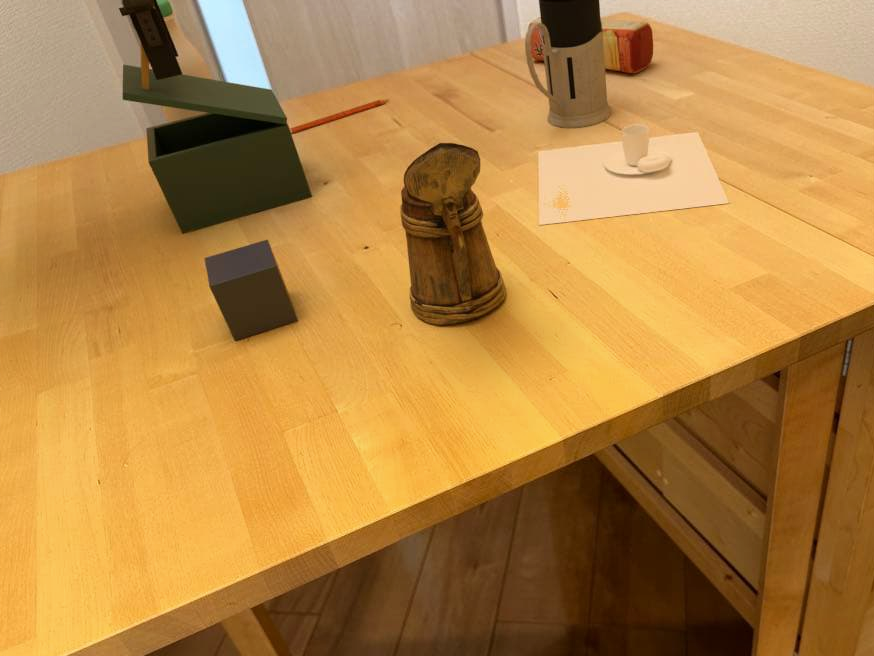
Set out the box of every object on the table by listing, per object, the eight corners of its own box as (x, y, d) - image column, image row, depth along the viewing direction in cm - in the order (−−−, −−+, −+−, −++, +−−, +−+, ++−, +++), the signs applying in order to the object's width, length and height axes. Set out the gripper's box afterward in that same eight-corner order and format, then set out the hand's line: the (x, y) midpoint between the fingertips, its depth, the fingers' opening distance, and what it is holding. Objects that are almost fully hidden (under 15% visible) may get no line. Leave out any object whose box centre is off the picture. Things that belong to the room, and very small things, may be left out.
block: (234, 341, 71) (209, 286, 67) (228, 311, 75) (204, 257, 71) (298, 320, 72) (276, 265, 68) (288, 292, 77) (267, 239, 73)
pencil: (281, 135, 113) (279, 131, 112) (390, 100, 119) (389, 96, 118) (283, 137, 112) (281, 132, 112) (392, 101, 118) (391, 97, 118)
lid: (122, 100, 81) (120, 10, 76) (123, 71, 90) (121, -10, 86) (286, 124, 88) (293, 44, 84) (271, 95, 98) (276, 22, 93)
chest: (182, 233, 91) (148, 161, 85) (176, 195, 100) (146, 128, 94) (312, 196, 94) (288, 125, 89) (295, 162, 104) (272, 96, 98)
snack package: (526, 63, 125) (520, 18, 120) (552, 51, 128) (548, 7, 124) (631, 79, 113) (629, 30, 108) (657, 64, 116) (656, 16, 112)
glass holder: (623, 106, 105) (616, -15, 95) (567, 147, 96) (554, 18, 87) (569, 100, 109) (558, -16, 99) (511, 139, 101) (493, 16, 91)
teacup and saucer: (677, 176, 86) (676, 141, 83) (606, 185, 86) (604, 150, 84) (666, 146, 93) (666, 112, 90) (601, 154, 93) (598, 121, 91)
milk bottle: (244, 153, 109) (185, -1, 96) (189, 169, 106) (121, 14, 94) (232, 138, 114) (175, -9, 101) (180, 154, 112) (115, 5, 99)
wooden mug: (432, 364, 64) (377, 159, 53) (403, 288, 74) (352, 102, 63) (532, 335, 66) (500, 129, 54) (490, 265, 76) (456, 78, 64)
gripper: (102, -194, 65) (208, 82, 79) (107, -191, 80) (195, 40, 95) (7, -180, 63) (134, 99, 78) (31, -180, 78) (133, 54, 93)
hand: (167, 66), depth 86 cm, fingers closed on lid, 8 cm apart
